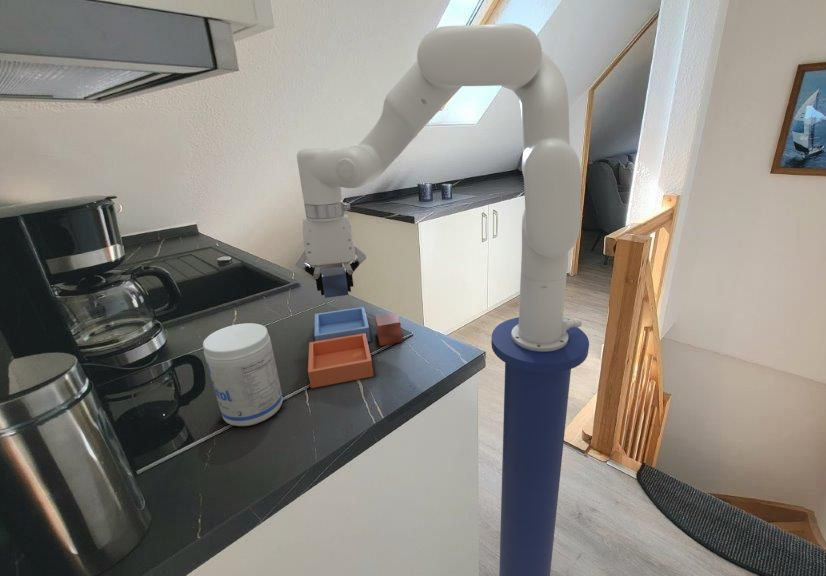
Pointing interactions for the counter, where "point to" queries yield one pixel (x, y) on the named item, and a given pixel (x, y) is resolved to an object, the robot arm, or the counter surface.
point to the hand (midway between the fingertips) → (336, 290)
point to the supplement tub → (243, 373)
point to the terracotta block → (388, 329)
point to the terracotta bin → (339, 360)
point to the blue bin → (341, 324)
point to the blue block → (334, 282)
